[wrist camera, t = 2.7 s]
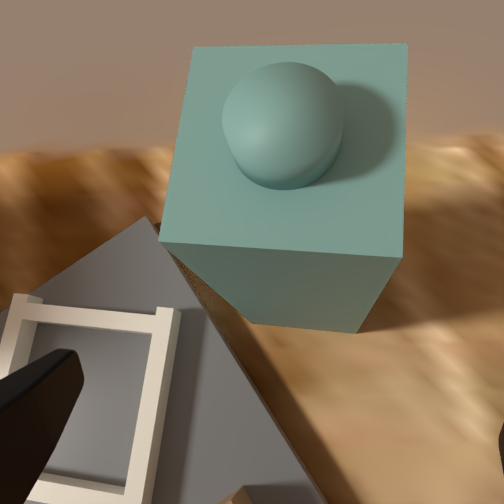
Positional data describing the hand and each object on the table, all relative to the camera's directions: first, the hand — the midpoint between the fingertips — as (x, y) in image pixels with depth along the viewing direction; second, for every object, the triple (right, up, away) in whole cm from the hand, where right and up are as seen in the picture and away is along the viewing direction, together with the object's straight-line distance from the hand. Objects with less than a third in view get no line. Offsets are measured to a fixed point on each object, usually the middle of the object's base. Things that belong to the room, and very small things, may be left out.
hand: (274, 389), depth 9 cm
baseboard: (-6, -7, +11) cm, 15 cm away
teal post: (+2, +2, +13) cm, 13 cm away
